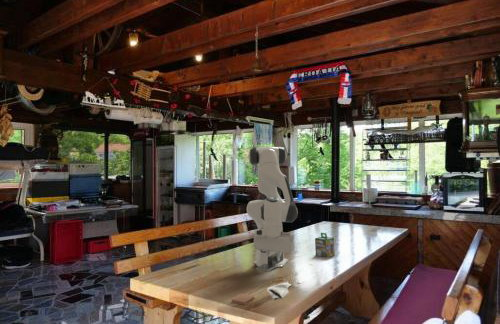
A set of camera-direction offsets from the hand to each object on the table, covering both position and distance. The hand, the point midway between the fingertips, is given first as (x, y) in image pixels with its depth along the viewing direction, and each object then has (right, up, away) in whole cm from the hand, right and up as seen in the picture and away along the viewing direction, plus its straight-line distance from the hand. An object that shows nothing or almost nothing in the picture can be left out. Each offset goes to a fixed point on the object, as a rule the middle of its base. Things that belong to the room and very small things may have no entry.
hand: (273, 260), depth 169 cm
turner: (-1, -2, -1) cm, 2 cm away
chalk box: (+38, -15, +64) cm, 75 cm away
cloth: (+3, -15, 0) cm, 15 cm away
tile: (-12, -14, -8) cm, 21 cm away
